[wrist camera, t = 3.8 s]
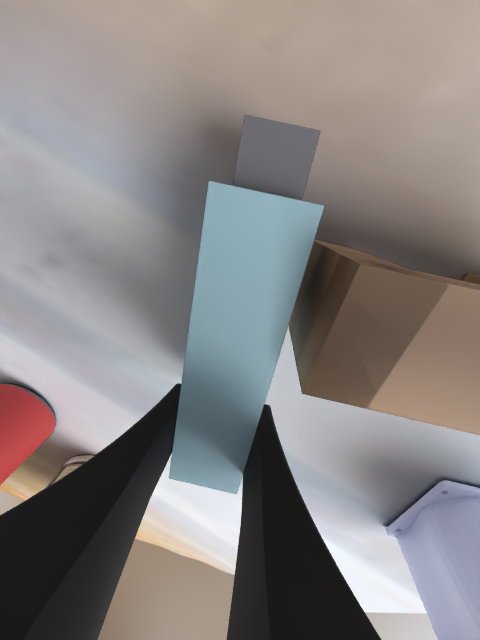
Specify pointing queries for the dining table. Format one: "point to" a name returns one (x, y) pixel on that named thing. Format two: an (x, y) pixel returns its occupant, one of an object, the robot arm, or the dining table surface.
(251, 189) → the light blue pillar
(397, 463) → the dining table surface
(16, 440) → the beer can
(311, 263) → the brown block
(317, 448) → the dining table surface
